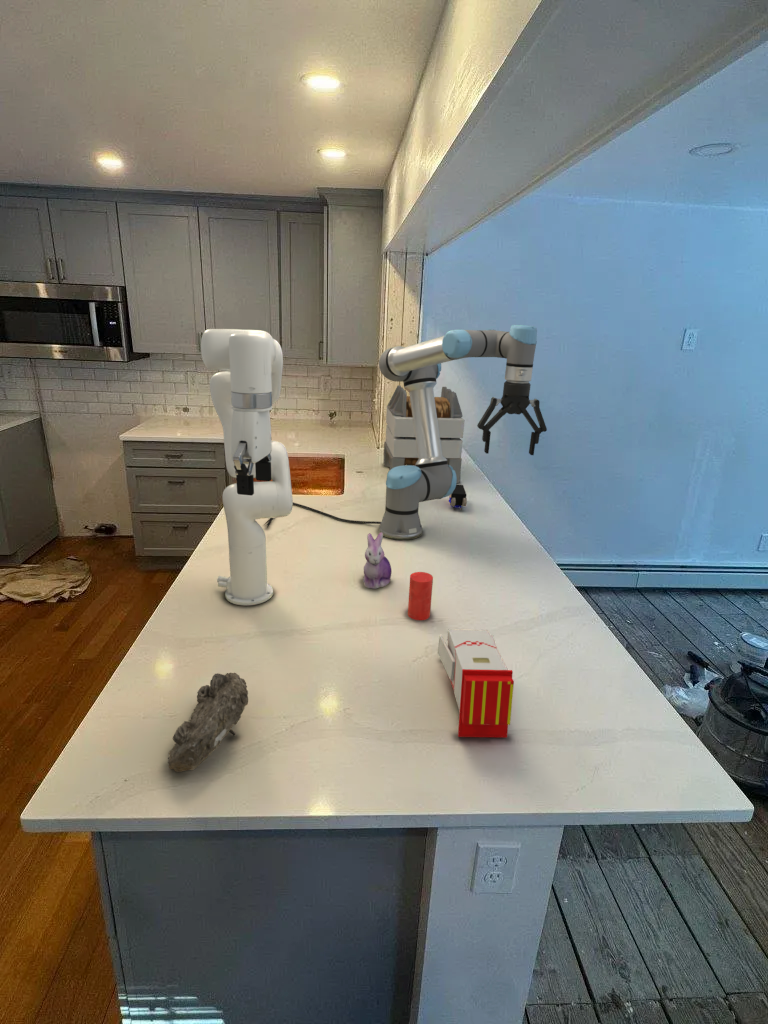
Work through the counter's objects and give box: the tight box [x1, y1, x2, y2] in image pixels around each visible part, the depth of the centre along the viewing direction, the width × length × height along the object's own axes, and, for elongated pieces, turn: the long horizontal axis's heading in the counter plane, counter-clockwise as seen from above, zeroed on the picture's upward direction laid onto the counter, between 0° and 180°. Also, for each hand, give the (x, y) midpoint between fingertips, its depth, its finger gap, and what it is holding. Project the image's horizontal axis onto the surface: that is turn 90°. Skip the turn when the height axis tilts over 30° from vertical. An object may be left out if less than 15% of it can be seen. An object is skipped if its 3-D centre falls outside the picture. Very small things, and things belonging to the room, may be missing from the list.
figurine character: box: [448, 484, 468, 511], centre depth 230 cm, size 7×8×15 cm
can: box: [407, 571, 434, 621], centre depth 146 cm, size 6×6×11 cm
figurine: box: [362, 532, 392, 589], centre depth 161 cm, size 9×10×15 cm
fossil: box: [167, 672, 249, 773], centre depth 102 cm, size 22×10×15 cm
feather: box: [263, 518, 274, 529], centre depth 211 cm, size 2×28×2 cm
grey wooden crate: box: [383, 384, 465, 484], centre depth 268 cm, size 34×33×41 cm
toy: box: [437, 628, 515, 738], centre depth 117 cm, size 12×13×30 cm
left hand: (255, 487), depth 113 cm, fingers open, 9 cm apart
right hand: (508, 453), depth 171 cm, fingers open, 13 cm apart
